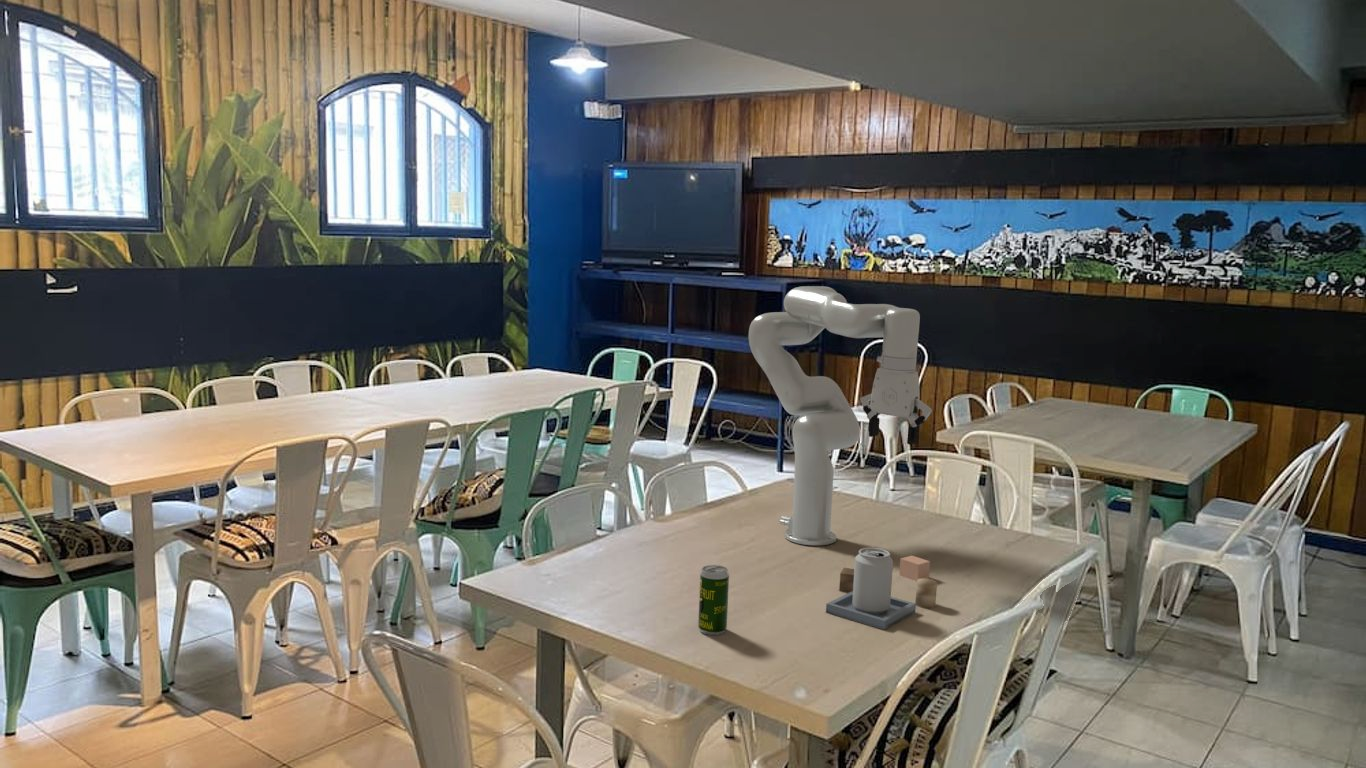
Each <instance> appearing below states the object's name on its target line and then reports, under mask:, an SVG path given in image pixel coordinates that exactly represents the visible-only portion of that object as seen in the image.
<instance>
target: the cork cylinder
mask: <svg viewBox="0 0 1366 768" xmlns="http://www.w3.org/2000/svg"><path fill="white" fill-rule="evenodd" d="M937 588H938V582H937V581H936V580H935V579H932V578H928V579H927V578H921V579H918V580H917V581H916V593H915V604H916V606H917V607H919V608H923V609H934V608H936V602H937V592H938V591H937Z"/></svg>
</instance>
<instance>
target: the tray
mask: <svg viewBox="0 0 1366 768" xmlns="http://www.w3.org/2000/svg"><path fill="white" fill-rule="evenodd" d="M852 600H853V591H852V592H847V593H845V594H844V595H842V596H840V597H837V598H836V599H833V600H831V601H829V602H828V603H826V606H825V607H826V608H825V613H827V614H830V615H832V616H833V615H834V616H837V617H839V618H844V619H846V620H850V621H853V622H857V623H860V624H864V625H866V626H870V627H873V628H876V629H880V630H883V631H885V630H886V629H888V628H890V627H891V626H894V625H896V624H898V623H899V622H900V621H903V620H904V619H906V618H907V617H910V616H911V615H913V614H914V613H916V608H917V607H916V606H917V605H916V602H915V603H914V602H911V601H907V600H903V599H900V598H897V597H893V596H891V602H890V608H889V609H888V610H886V611H885V612H884V613H882V614H867V613H863V612H860V611H858V610H857V609H856V607H855V606H854V605H853V603H852Z"/></svg>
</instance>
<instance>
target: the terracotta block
mask: <svg viewBox="0 0 1366 768" xmlns="http://www.w3.org/2000/svg"><path fill="white" fill-rule="evenodd" d="M899 561H900V562H899V573H898V574H899V576H900V577H903V578H906V579H908V580H911V579H912V581H914V580H915V582H917V580H918V579H921V578H927V579H930V576H929V575H930V564H931V562H930V560H927V559H924V558H921V557H918V556H915V555H909V556H905V557H900V560H899Z"/></svg>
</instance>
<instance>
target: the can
mask: <svg viewBox="0 0 1366 768" xmlns="http://www.w3.org/2000/svg"><path fill="white" fill-rule="evenodd" d="M853 569H854V584H853V600H852V603H853V605H854V606H855V607H856V609H857V610H858V611H860V612H863V613H867V614H882V613H884V612H885V611H886V610H888V609H889V608H890V602H891V597H892V585H893V571H894V561H893V559H892V558H891V552H890V551H888V550H886V549H883V548H877V547H864V548H863V547H862V548H861V549H859V550H858V554H857V555H856V556H855V557H854V568H853Z"/></svg>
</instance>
